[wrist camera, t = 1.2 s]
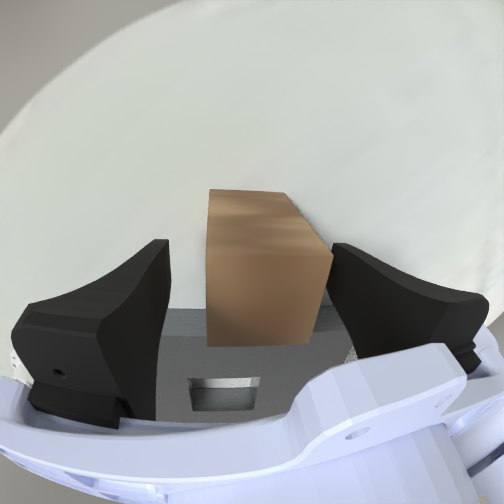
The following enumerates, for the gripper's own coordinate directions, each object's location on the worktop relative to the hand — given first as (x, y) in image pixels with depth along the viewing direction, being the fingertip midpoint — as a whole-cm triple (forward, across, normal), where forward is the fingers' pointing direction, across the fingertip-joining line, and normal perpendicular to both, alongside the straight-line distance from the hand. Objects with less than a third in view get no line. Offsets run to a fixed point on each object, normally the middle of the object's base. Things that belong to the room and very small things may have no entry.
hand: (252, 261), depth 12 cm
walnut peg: (+4, 0, 0) cm, 4 cm away
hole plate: (+4, +1, +13) cm, 14 cm away
